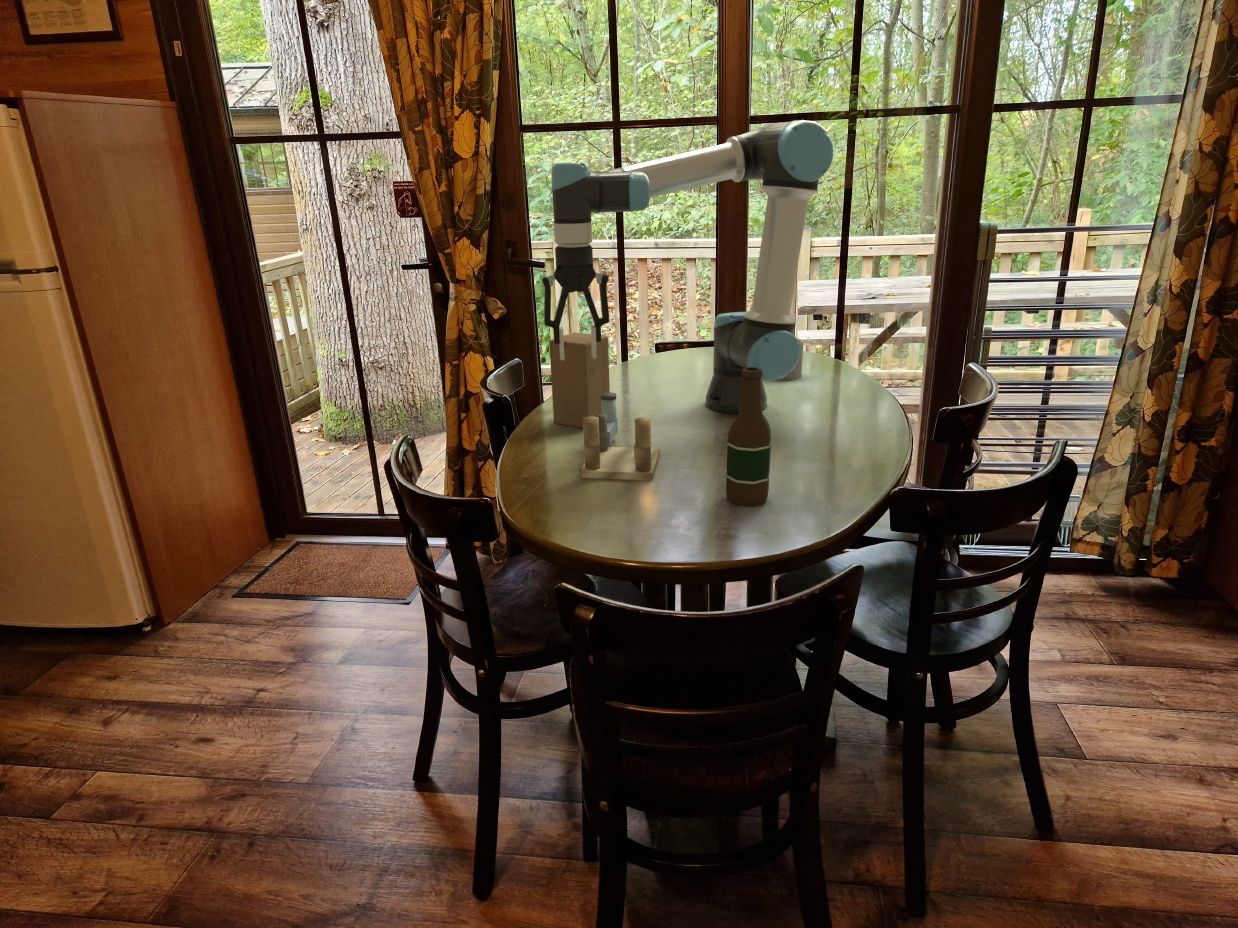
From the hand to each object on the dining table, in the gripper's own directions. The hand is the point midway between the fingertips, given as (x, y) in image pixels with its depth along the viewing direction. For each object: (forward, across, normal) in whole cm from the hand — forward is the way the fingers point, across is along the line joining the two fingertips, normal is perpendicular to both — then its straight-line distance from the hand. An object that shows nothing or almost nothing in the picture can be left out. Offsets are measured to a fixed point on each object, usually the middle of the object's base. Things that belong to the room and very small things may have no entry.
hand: (578, 357), depth 166 cm
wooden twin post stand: (+19, -7, +16) cm, 26 cm away
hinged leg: (+17, -5, +3) cm, 18 cm away
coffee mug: (+19, -60, -46) cm, 78 cm away
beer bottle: (+19, -26, +37) cm, 49 cm away
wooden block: (+19, -2, -16) cm, 25 cm away
